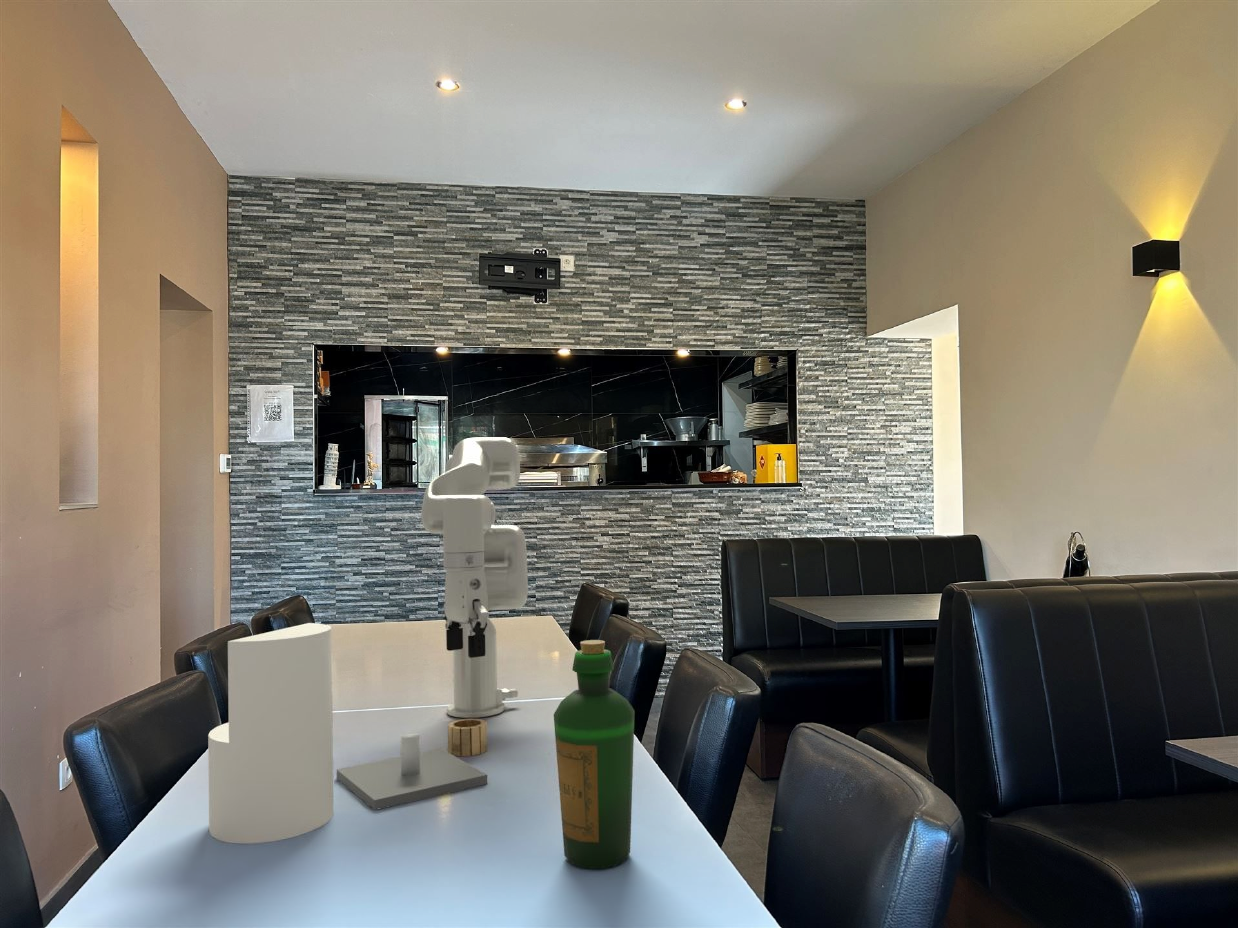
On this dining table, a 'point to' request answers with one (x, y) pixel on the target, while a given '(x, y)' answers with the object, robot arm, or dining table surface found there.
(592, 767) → the bottle
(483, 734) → the wooden stave ring
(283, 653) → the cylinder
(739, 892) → the dining table surface
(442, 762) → the stand
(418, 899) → the dining table surface
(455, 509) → the robot arm
